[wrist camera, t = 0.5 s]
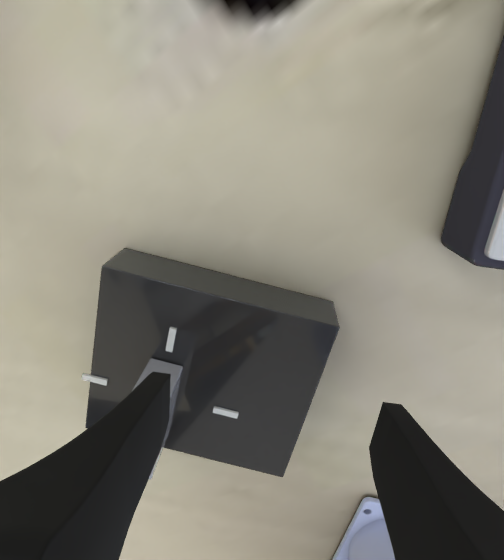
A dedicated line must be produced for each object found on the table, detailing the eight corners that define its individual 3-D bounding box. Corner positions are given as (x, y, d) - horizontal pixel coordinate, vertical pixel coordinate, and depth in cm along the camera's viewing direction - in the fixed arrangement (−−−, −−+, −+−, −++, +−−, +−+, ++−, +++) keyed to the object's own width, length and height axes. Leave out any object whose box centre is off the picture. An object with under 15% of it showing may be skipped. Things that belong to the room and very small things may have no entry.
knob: (170, 430, 23) (149, 484, 19) (139, 423, 23) (113, 475, 19) (183, 365, 21) (163, 412, 18) (150, 357, 21) (124, 402, 18)
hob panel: (280, 447, 26) (279, 487, 23) (99, 401, 26) (76, 436, 23) (333, 301, 22) (340, 328, 19) (117, 245, 22) (91, 265, 19)
